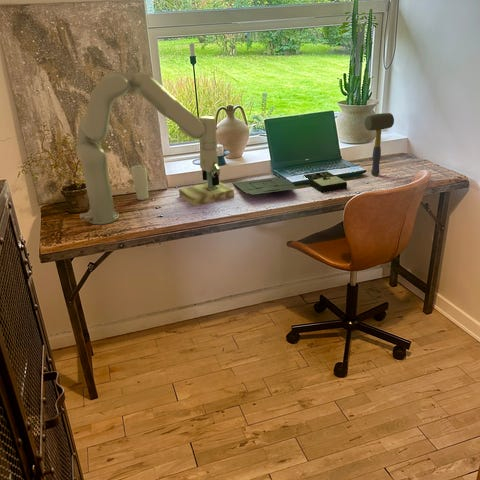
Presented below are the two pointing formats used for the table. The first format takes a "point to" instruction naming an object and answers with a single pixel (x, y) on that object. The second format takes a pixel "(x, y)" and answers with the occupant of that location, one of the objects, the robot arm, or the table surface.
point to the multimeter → (326, 182)
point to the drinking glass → (140, 181)
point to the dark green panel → (264, 185)
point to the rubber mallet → (378, 135)
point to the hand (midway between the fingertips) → (210, 182)
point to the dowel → (210, 181)
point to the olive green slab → (205, 194)
